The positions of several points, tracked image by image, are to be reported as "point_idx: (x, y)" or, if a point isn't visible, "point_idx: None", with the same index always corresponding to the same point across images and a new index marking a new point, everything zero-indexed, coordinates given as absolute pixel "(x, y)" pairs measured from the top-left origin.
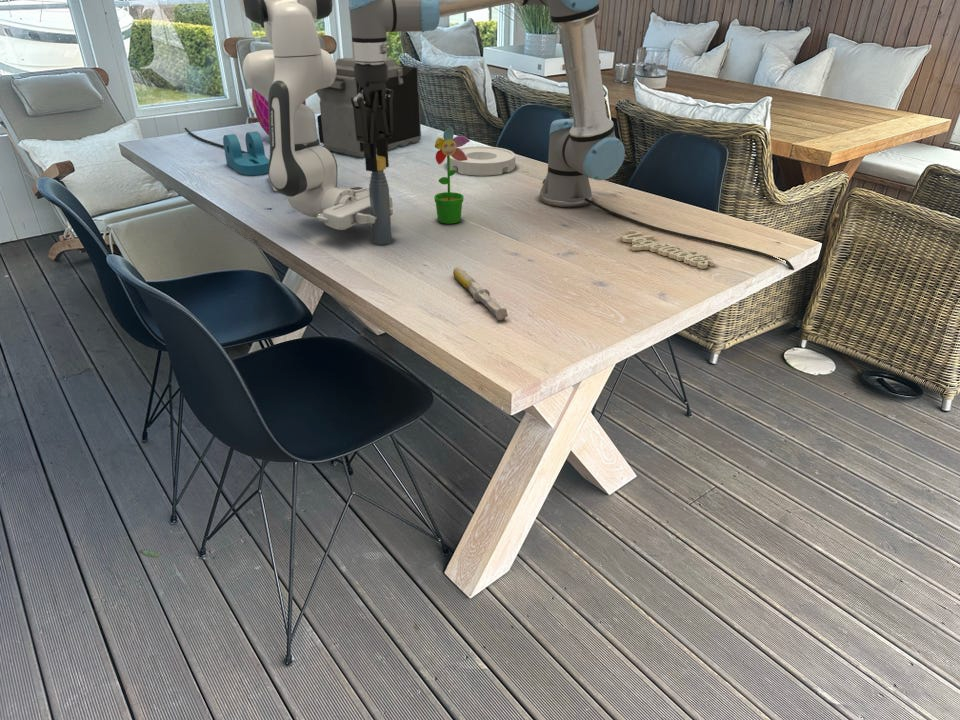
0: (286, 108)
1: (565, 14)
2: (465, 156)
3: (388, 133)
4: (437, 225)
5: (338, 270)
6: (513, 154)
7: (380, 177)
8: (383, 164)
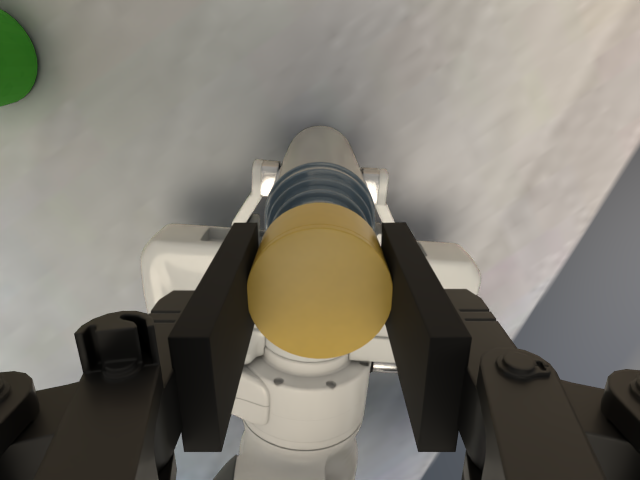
0: None
1: None
2: None
3: (92, 384)
4: (66, 71)
5: (601, 133)
6: None
7: (346, 206)
8: (330, 214)
